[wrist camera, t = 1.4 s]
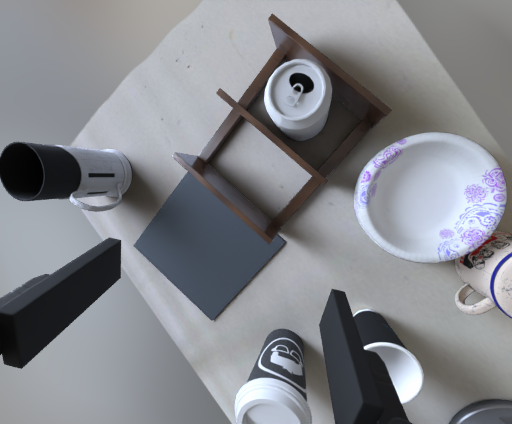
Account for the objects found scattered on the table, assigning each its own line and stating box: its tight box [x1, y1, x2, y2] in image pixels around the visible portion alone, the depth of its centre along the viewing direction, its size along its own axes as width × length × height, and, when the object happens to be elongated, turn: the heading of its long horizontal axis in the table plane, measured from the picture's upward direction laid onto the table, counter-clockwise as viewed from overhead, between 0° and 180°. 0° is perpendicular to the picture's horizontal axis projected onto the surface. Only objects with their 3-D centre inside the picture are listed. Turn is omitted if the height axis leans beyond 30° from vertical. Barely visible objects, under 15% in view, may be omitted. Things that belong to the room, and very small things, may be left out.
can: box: [264, 59, 332, 141], centre depth 33 cm, size 8×8×12 cm
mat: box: [134, 172, 285, 320], centre depth 45 cm, size 20×20×1 cm
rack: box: [172, 14, 392, 244], centre depth 36 cm, size 18×21×8 cm
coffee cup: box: [235, 329, 312, 424], centre depth 37 cm, size 10×10×15 cm
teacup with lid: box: [455, 231, 512, 318], centre depth 30 cm, size 12×9×12 cm
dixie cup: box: [353, 309, 424, 404], centre depth 35 cm, size 8×8×11 cm
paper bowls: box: [354, 132, 507, 263], centre depth 33 cm, size 15×15×8 cm
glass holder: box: [0, 142, 132, 212], centre depth 40 cm, size 9×14×15 cm, turn 59°
